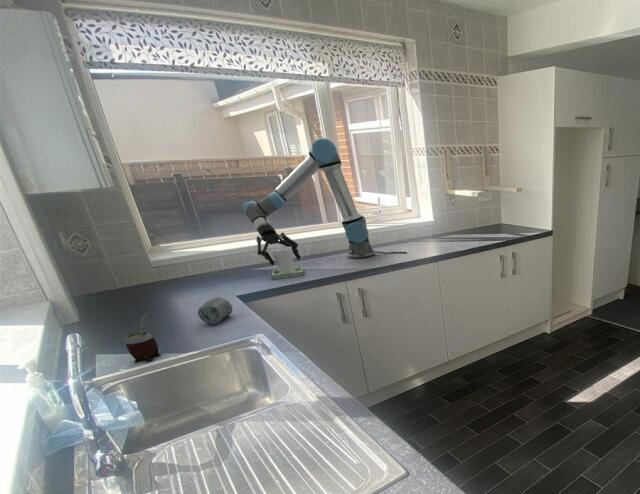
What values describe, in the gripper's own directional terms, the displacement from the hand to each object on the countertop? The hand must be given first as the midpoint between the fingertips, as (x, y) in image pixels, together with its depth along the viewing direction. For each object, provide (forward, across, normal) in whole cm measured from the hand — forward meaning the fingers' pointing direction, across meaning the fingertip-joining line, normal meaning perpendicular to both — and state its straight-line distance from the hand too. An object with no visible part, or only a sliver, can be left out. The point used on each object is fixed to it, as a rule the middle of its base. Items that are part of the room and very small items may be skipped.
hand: (286, 261), depth 216 cm
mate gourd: (+48, +75, +38) cm, 97 cm away
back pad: (+4, 0, -6) cm, 8 cm away
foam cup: (+4, 0, -6) cm, 7 cm away
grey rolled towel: (+35, +49, +24) cm, 65 cm away
